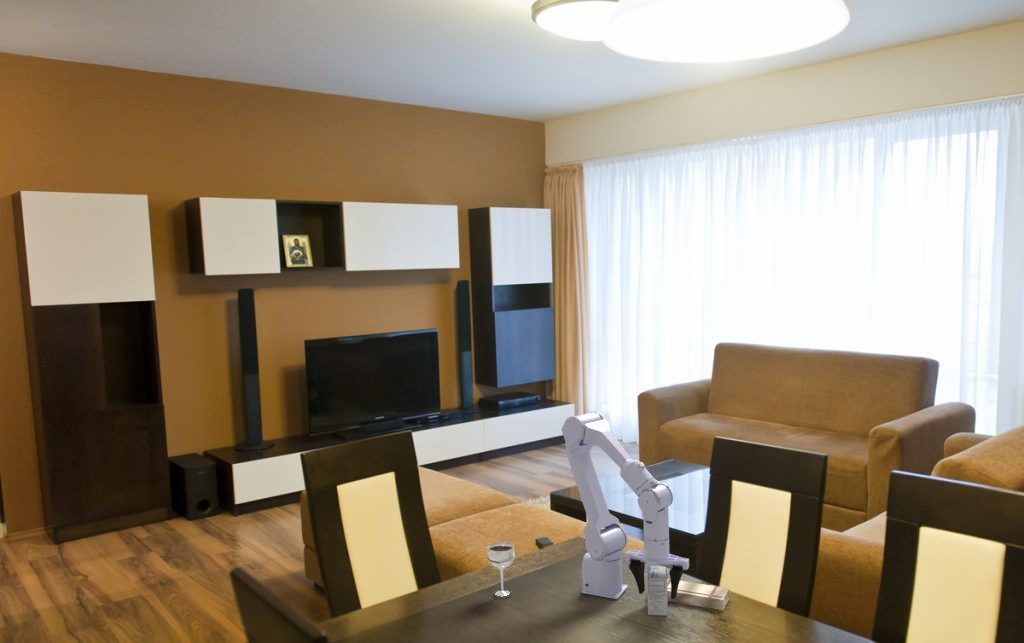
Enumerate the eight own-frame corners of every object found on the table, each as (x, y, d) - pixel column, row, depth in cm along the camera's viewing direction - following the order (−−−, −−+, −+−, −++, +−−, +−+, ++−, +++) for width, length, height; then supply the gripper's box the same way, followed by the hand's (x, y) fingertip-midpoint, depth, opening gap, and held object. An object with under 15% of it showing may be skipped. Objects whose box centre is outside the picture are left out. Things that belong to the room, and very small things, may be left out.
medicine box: (667, 616, 174) (666, 579, 173) (647, 615, 175) (646, 578, 174) (667, 601, 182) (666, 566, 181) (648, 600, 182) (647, 565, 182)
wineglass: (510, 601, 184) (508, 553, 183) (484, 598, 187) (482, 550, 186) (520, 590, 190) (518, 543, 190) (495, 587, 193) (493, 540, 192)
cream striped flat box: (647, 597, 184) (647, 586, 184) (655, 586, 190) (655, 576, 190) (723, 610, 176) (722, 599, 176) (729, 598, 182) (729, 587, 182)
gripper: (620, 538, 177) (622, 596, 178) (682, 547, 170) (684, 606, 171) (630, 529, 183) (632, 584, 184) (690, 537, 176) (692, 594, 177)
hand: (657, 594), depth 178 cm, fingers open, 7 cm apart
